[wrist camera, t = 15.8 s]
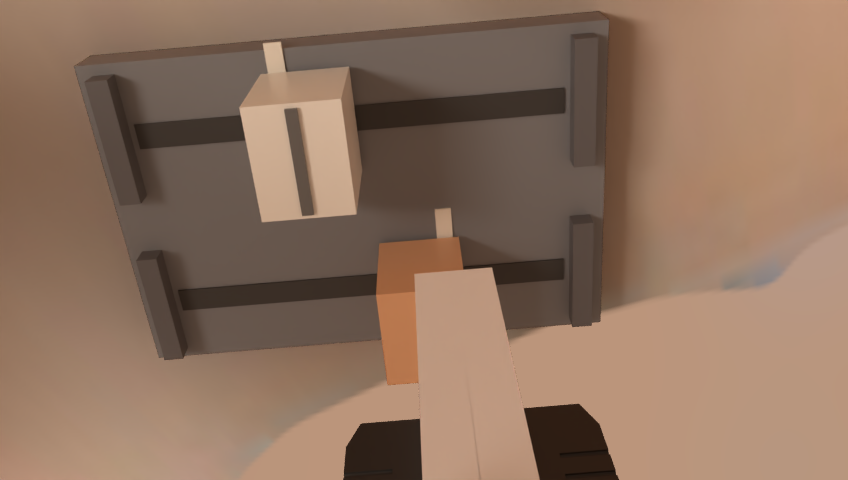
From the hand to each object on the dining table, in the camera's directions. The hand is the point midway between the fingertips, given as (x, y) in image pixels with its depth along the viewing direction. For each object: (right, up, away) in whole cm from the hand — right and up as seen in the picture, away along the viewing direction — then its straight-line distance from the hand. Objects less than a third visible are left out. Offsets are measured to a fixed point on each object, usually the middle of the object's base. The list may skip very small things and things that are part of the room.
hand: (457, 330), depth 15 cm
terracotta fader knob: (-1, 0, +24) cm, 24 cm away
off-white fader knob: (-6, +7, +20) cm, 22 cm away
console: (-4, +4, +24) cm, 25 cm away
